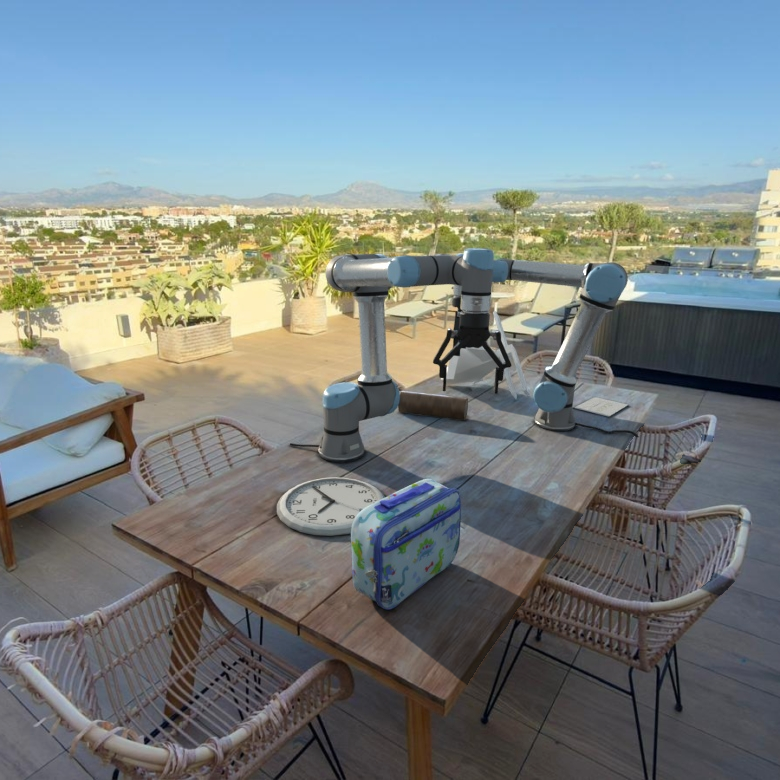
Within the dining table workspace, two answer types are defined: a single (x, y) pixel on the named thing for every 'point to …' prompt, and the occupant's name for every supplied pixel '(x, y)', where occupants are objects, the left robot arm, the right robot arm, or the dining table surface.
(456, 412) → the rod
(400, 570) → the lunch box
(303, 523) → the wall clock
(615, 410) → the invitation card
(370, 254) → the left robot arm
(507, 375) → the white plastic object
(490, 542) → the dining table surface
